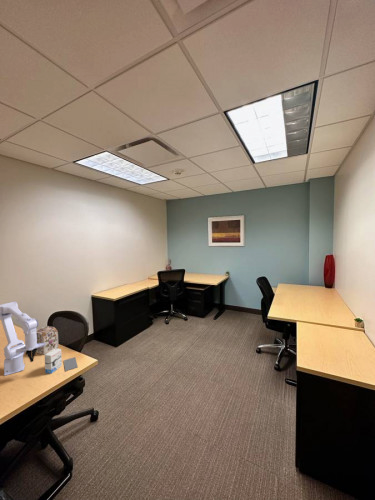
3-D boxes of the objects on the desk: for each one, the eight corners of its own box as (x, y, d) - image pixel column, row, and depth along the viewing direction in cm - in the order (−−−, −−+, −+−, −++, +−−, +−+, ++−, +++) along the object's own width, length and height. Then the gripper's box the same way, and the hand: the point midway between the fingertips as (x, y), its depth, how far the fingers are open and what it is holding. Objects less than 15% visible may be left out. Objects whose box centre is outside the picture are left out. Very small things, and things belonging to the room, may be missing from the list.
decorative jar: (43, 355, 147) (42, 331, 147) (33, 352, 151) (32, 329, 151) (59, 347, 159) (58, 324, 158) (48, 344, 163) (47, 322, 162)
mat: (65, 371, 129) (65, 370, 129) (63, 360, 140) (63, 360, 140) (77, 367, 133) (77, 366, 133) (75, 357, 144) (75, 356, 144)
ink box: (51, 374, 126) (50, 355, 126) (44, 373, 127) (44, 355, 127) (62, 365, 135) (61, 348, 134) (56, 364, 136) (55, 347, 135)
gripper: (14, 345, 116) (15, 368, 117) (45, 338, 125) (46, 359, 125) (16, 340, 122) (17, 362, 123) (45, 334, 130) (46, 354, 131)
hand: (31, 360), depth 124 cm, fingers closed
